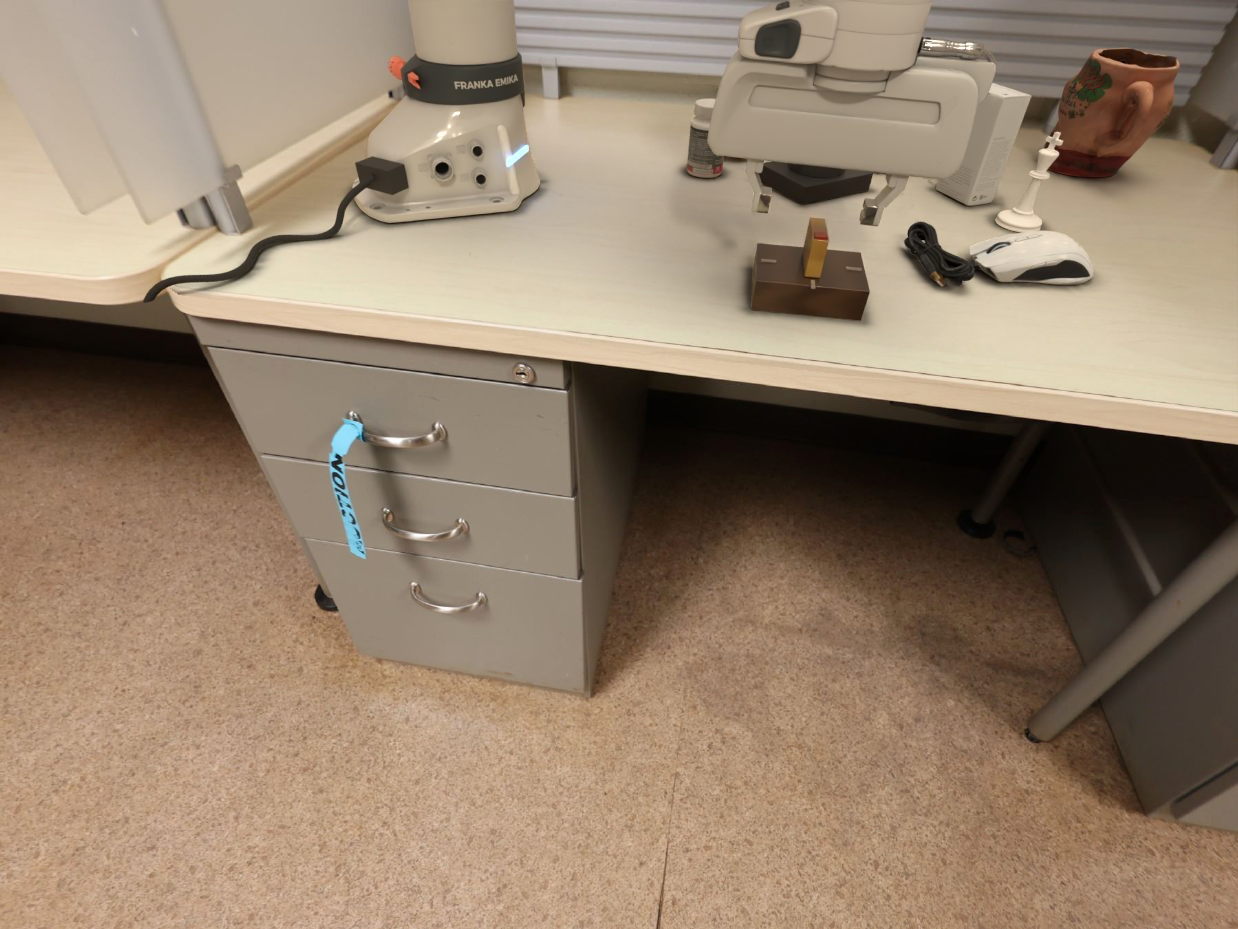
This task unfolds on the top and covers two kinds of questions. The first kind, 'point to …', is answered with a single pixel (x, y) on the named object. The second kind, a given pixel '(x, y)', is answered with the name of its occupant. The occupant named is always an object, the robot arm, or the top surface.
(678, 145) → the top surface
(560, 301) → the top surface
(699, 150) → the pill bottle
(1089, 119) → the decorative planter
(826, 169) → the push button base
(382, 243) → the top surface
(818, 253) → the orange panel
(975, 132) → the cosmetic box
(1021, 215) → the chess piece
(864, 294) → the plate
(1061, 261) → the computer mouse
